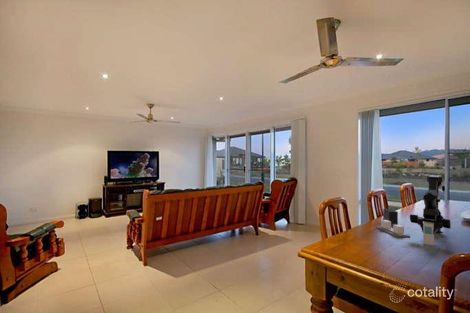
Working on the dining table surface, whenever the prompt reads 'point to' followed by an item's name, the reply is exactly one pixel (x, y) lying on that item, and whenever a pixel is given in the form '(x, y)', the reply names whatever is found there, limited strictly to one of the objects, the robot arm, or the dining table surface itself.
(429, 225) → the block
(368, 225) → the dining table surface
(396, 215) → the small box
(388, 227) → the mounting plate
